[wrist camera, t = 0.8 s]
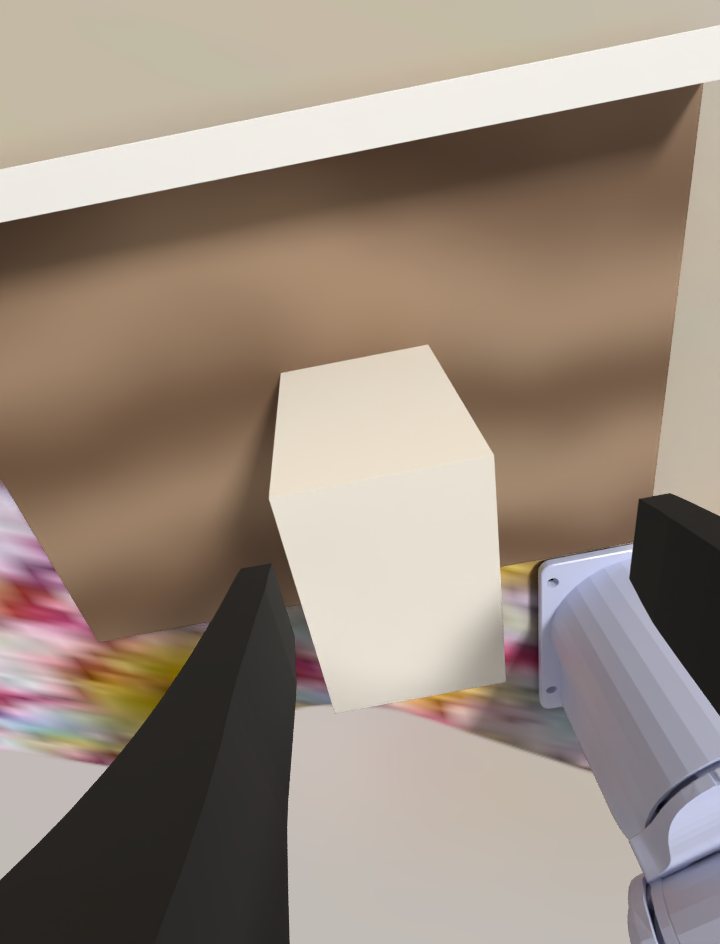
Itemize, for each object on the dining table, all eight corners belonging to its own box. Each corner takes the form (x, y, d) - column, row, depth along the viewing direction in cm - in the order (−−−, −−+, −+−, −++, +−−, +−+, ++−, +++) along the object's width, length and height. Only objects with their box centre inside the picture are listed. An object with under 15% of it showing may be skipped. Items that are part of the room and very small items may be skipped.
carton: (326, 548, 21) (335, 713, 15) (280, 373, 17) (269, 498, 11) (450, 524, 21) (510, 681, 15) (431, 343, 17) (499, 453, 11)
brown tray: (632, 521, 23) (676, 573, 20) (107, 620, 23) (81, 684, 21) (681, 37, 15) (767, 15, 12) (-131, 200, 15) (-226, 214, 12)
